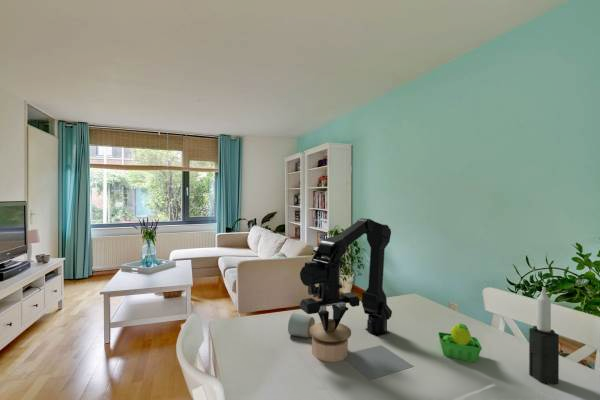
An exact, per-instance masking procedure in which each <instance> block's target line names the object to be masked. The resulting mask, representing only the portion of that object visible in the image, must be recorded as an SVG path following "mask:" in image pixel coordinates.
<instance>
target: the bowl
mask: <svg viewBox="0 0 600 400" xmlns="http://www.w3.org/2000/svg"><path fill="white" fill-rule="evenodd" d="M348 353H349V338H348V339H346V340H344V341H340V342H326V341H321V340H318V339H316V338H314V337H312V336H311V355H313V356H314V357H315V358H316V359H318V360H321V361H324V362H334V363H336V362H340V361H344V360H345V359H344V358H345V357H346V356H347V355H348Z"/></svg>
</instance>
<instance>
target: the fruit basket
mask: <svg viewBox="0 0 600 400" xmlns="http://www.w3.org/2000/svg"><path fill="white" fill-rule="evenodd" d="M437 334H438V338H439V339H438V340H439V342H440V348H441V350H442V351H441V352H442V355H443V356H444V357H447V358H449V359H450V358H452V359H455V360H456V359H457V360H461V361H467V362H468V361H469V362H473V363H477V362H478V359H479V356H480V352H481V351H482V350H483V347H482V345H481V343H480V341H479V339H478V338H477V337H474V336H472V335H471V332H470V330H469V328H468V326H467V325H466V324H465V323H462V322H461V323H460V322H459V323H457V324H455V325H454V326H453V327H451V330H450V333H448V332H441V331H438V332H437Z"/></svg>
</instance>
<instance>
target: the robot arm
mask: <svg viewBox="0 0 600 400" xmlns="http://www.w3.org/2000/svg"><path fill="white" fill-rule="evenodd" d="M391 230H392V229H391V228H390V226H389V225H388V224H382V223H379V222H377V221H374V220H373V219H371V218H358V219H357V221H355V222H353V224H352V225H350V226H348V227H347V228H346V229H344V230H343V231H342V232H340V233H339V234H337V235H334V236H329V237H327V238H324V239H322V240H321V241H320V242H319V244H318V246H317V249H316V251H315V252H314V254H313V257H312V258H311V261H305V262H304V266H303V267H302V268H301V269H300V272H299V276H300V277H299V278H300V280H301V283H302V284H303V285H304V286H306V287H307V293H308V295H309V296H312V295H313V297H311V298H310V297H309V298H303V299H301V301H300V302H299V309H301V310H302V311H303V312H304V313H306V315H313V314H314V315H315V314H318V317H319V319H320V323H321V322H322V325H323V328H324V330H325V331H327V328H328V319H330V318H329V317H330V311H328V310H327V307H329V306H330V307H332V310H333V311H332V319H333V320H335V329H336V328H337V326H338V324H339V323H340V322H341V320H342V319H343V317H344V315H345V313H346V311H348V310H349V307H347V304H349V306H350V307H352V308H353V307H354V308H355V307H359V306H360V303H361V305H362V308H363V312H364V314H367V321H366V322H367V323H366V324H367V325H366V328H365V330H366V331H367V332H368V333H370V334H371V335H373V336H374V337H380V336H384V335H388V334H391V332H390V331H389V330H388V320H390V319H391V318H392V314H393V311H392V309H391V308H390V306H388V302H387V299H388V298H387V295H386V294H385V292H384V288H383V286H384V284H383V283H384V266H385V252H386V251H385V249H387V246H388V244H389V243H390V240H391V235H392V231H391ZM364 235H366V241H367V243H368V246H369V247H370V256H369V271H368V272H369V273H368V287H367V288H366V290H365V291H362V293H361V302H360V298H359V296H357V295H356V294H354V293H351V292H344V293H340V289H342V287H343V284H341V283H340V279H341V278H340V277H341V276H340V275H341V269H340V268H341V266H344V265H345V263H346V262H344V260H342V259H341V258H342V257H343V256H344V255H345V254H346V253H347V250H348V247H350V245H351V244H353V243H354V242H355V241H357V240H358V239H359V238H361V237H362V236H364ZM316 285H318V286H316ZM315 298H317V299H318V300H316V299H315Z"/></svg>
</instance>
